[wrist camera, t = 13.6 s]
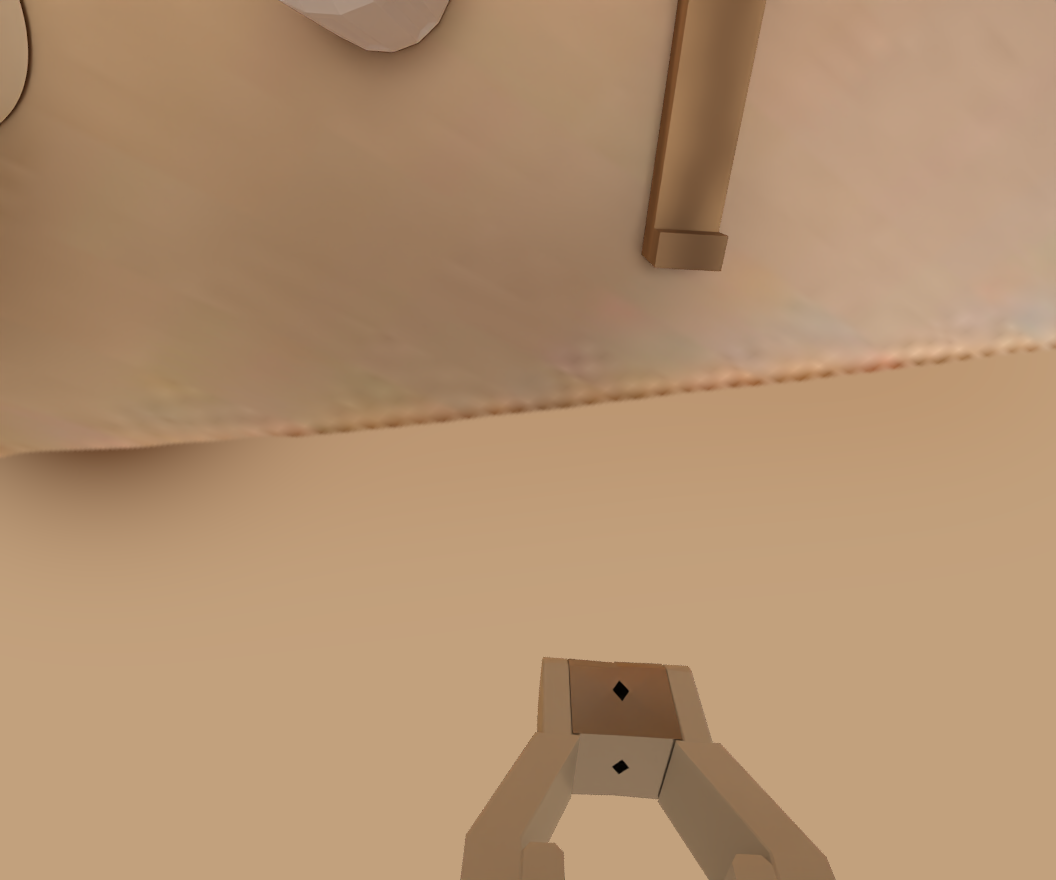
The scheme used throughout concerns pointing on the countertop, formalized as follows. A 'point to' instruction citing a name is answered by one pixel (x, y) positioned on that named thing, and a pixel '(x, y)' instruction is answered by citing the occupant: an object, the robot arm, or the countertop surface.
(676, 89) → the rail
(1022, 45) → the countertop surface
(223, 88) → the countertop surface
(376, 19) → the soap bottle
